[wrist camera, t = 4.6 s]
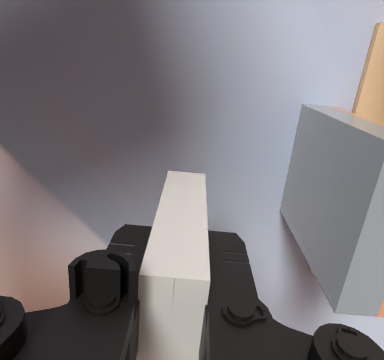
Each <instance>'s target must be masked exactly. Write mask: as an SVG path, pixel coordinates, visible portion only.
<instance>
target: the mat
mask: <svg viewBox="0 0 384 360" xmlns="http://www.w3.org/2000/svg"><path fill="white" fill-rule="evenodd" d="M352 113H354V114H357V115H360V116H363V117H365V118H368V119H371V120H374V121H377V122H380V123H382V124H384V23H376V25H375V29H374V33H373V37H372V40H371V44H370V48H369V52H368V55H367V59H366V63H365V66H364V70H363V74H362V78H361V81H360V85H359V89H358V93H357V96H356V100H355V104H354V108H353V111H352ZM310 271H311V273H312V274H314V273H313V272H312V270H311V268H310Z"/></svg>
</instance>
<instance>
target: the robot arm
mask: <svg viewBox="0 0 384 360" xmlns="http://www.w3.org/2000/svg"><path fill="white" fill-rule="evenodd" d="M68 272H69V288H70V300H69V302H68V304H65V305H62V306H60V307H56V308H51V309H46V310H40V311H34V312H27V313H25V311H24V308H23V306H22V304H21V302H19V301H18V300H16V299H14V298H12V297H5V296H0V360H384V351H383V350H382V349H381V348H380V347H379V346H378V345H377V344H376V343H375V342H374V341H373V340H372V339H371V338H369V337H368V336H367V335H365V334H363V333H361V332H360V331H358V330H356V329H355V328H352V327H348V326H345V325H342V324H331V323H328V324H325V325H323V326H320V327H319V328H318V329H317V330H316V332H315V333H314V335H313V336H311V335H308V334H306V333H303V332H300V331H297V330H294V329H291V328H289V327H287V326H284V325H282V324H280V323H279V322H277V321H276V320H274V319H273V318H272V315H271V314H270V312H269V310H268V308H267V307H266V306H265V305H264V304H263V303H262V302H261V301H260V300H259V299H258V295H257V291H256V287H255V283H254V279H253V275H252V271H251V267H250V264H249V259H248V255H247V251H246V247H245V243H244V242H243V240H242V239H241V238H240V237H239V236H238V235H237V234H236V233H228V232H217V231H208V221H207V201H206V180H205V174H201V173H190V172H179V171H168V174H167V177H166V181H165V184H164V188H163V191H162V195H161V198H160V202H159V205H158V209H157V212H156V216H155V219H154V223H153V226H152V227H149V226H138V225H127V224H125V225H124V226H123V227H121V228H120V229H119V230H117V231H116V232H115V233H114V235H113V237H112V239H111V241H110V244H109V245H108V247H107V249H106V250H96V251H92V252H87V253H85V254H83V255H81V256H79V257H77V258H75V259H74V260H73V261H72V262H71V263H70V264H69V265H68Z"/></svg>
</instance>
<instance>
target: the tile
mask: <svg viewBox="0 0 384 360" xmlns="http://www.w3.org/2000/svg"><path fill="white" fill-rule="evenodd" d="M280 212H281V214H282V215H283V217H284V219H285V221H286V223H287V225H288V227H289V228H290V230H291V232H292V234H293V236H294V238H295V240H296V242H297V243H298V245H299V247H300V249H301V251H302V253H303V255H304V257H305V258H306V260H307V262H308V264H309V266H310V268H311V270H312V272H313V273H314V275H315V277H316V279H317V281H318V283H319V285H320V286H321V288H322V290H323V292H324V294H325V296H326V298H327V300H328V301H329V303H330V305H331V307H332V309H333V311H334V313H339V314H351V315H363V316H376V317H384V124H382V123H380V122H377V121H374V120H371V119H368V118H365V117H363V116H360V115H357V114H354V113H351V112H348V111H345V110H343V109H340V108H337V107H328V106H317V105H306V104H302V107H301V112H300V117H299V122H298V126H297V131H296V136H295V141H294V146H293V150H292V155H291V160H290V165H289V170H288V174H287V179H286V184H285V189H284V194H283V198H282V203H281V208H280Z"/></svg>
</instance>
